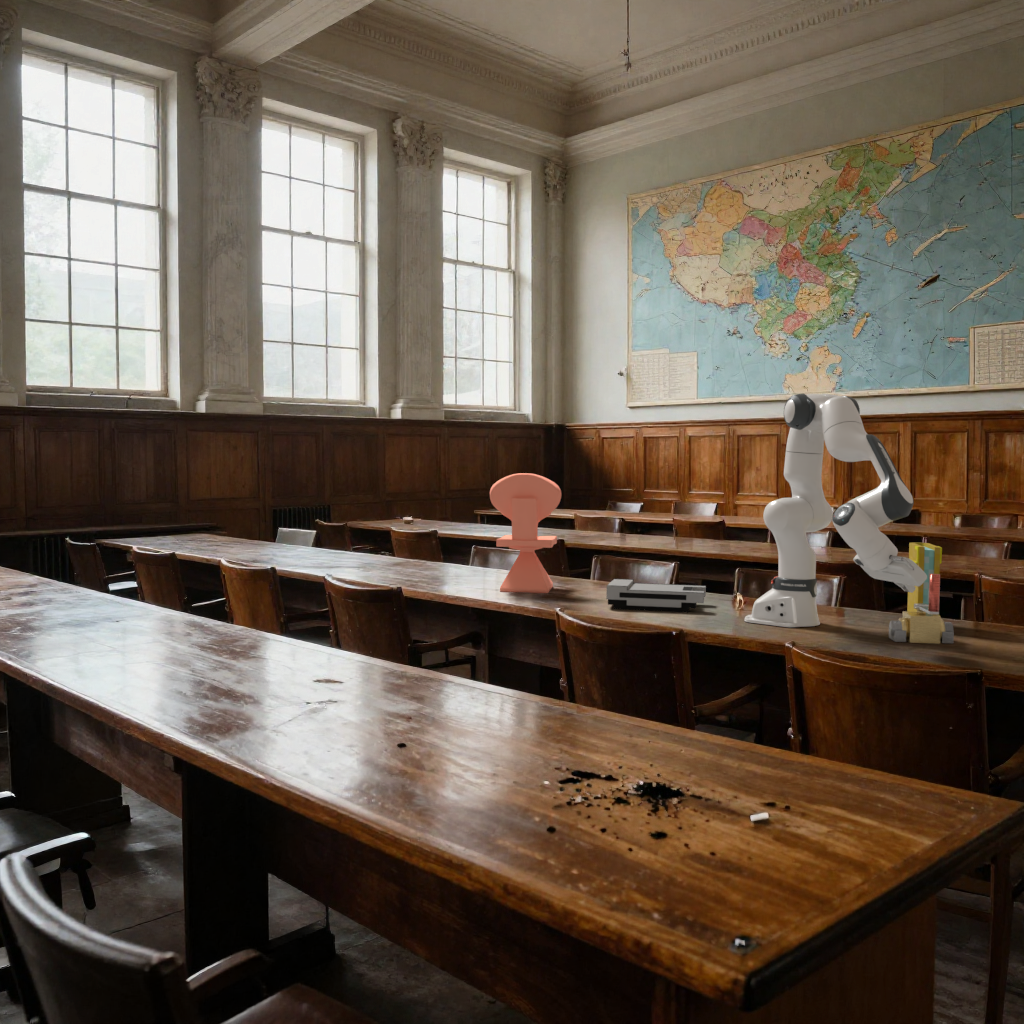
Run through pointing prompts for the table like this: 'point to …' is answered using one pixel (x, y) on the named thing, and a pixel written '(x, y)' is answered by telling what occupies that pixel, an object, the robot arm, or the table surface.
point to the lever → (931, 596)
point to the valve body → (921, 628)
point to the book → (929, 562)
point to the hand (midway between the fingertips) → (910, 590)
